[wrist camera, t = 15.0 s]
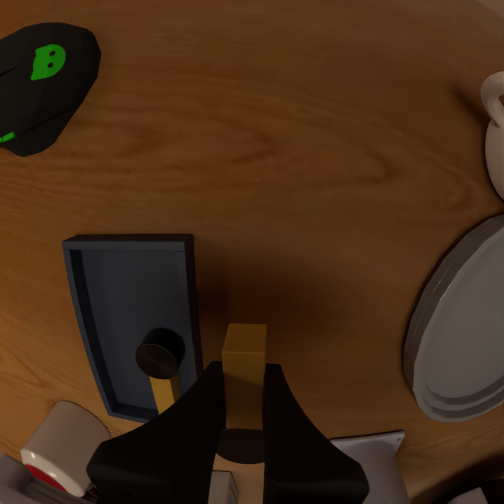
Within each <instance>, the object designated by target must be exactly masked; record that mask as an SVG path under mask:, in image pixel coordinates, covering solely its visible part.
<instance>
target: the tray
mask: <svg viewBox="0 0 504 504" xmlns="http://www.w3.org/2000/svg"><path fill="white" fill-rule="evenodd" d="M62 246H63V249H64V250H63V253H64V259H65V265H66V271H67V276H68V281H69V286H70V291H71V296H72V301H73V305H74V309H75V313H76V317H77V321H78V325H79V329H80V333H81V336H82V340H83V344H84V347H85V350H86V354H87V357H88V360H89V363H90V366H91V369H92V372H93V375H94V378H95V381H96V384H97V387H98V390H99V392H100V395H101V398H102V400H103V403H104V405H105V408H106V410H107V413H108V415H109V416H113V417H118V418H122V419H126V420H131V421H136V422H141V423H147V422H149V421H150V420H152V419H153V418H155V417H156V416H158V415H159V412H158V408H157V405H156V401H155V397H154V393H153V389H152V385H151V381H150V376H148V375H146V374H145V373H144V372H143V371H142V370H141V369H140V368H139V366H138V365H137V362H136V359H135V353H136V350H137V348H138V347H139V346H140V344H141V343H142V341H143V340H144V338H145V337H146V335H147V334H148V333H149V332H150V331H151V330H153V329H157V328H164V329H168V330H171V331H173V332H174V333H176V334H177V335H178V336H179V337H180V338H181V339H182V341H183V342H184V345H185V350H186V352H185V356H184V358H183V360H182V363H181V365H180V367H179V375H180V381H181V387H182V392H183V394H184V393H185V392H186V391H187V390H188V389H189V388H190V387H191V386H192V385H193V384H194V382H195V381H196V380H197V379H198V378H199V377H200V375H201V374H202V373H203V372H204V371H203V362H202V352H201V343H200V332H199V321H198V309H197V297H196V283H195V268H194V251H193V235H192V234H108V235H76V236H73V237H71V238H69V239H66V240H64V241H62Z"/></svg>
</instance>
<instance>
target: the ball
mask: <svg viewBox="0 0 504 504" xmlns="http://www.w3.org/2000/svg"><path fill="white" fill-rule="evenodd" d="M478 487H480V488H481V490H482V492H483V494H484V496H485V499H486V501H487V503H488V504H504V478H500V479H490V480H486V481H481V482H478V483H475V484H472V485H469V486H467V487H464V488H462V489H460V490H458V491H456V492H454V493H451V494H449V495H448V496H446V497H445V498H443V499H441V500H440V501H438V502H436V503H435V504H448V503H449V502H450V501H451V500H452V499H453V498H455V497H457V496H459V495H461V494H464V493H466V492H469V491H471V490H473V489H476V488H478Z"/></svg>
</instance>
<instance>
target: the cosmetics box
mask: <svg viewBox="0 0 504 504" xmlns="http://www.w3.org/2000/svg"><path fill="white" fill-rule="evenodd" d="M238 496H239V494H238V491H237V489H236V486H235V483H234V480H233V476H232V473H231V472H221V471H212V477H211V484H210V492H209V499H208V504H238Z"/></svg>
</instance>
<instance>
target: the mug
mask: <svg viewBox="0 0 504 504" xmlns="http://www.w3.org/2000/svg"><path fill="white" fill-rule="evenodd" d="M503 94H504V71H502V72H498V73H495V74H493V75H491V76H489V77H488V78H487V79H486V80H485V81H484V83H483V84H482V87H481V100H482V103H483V106H484V108H485V110H486V111H487V113H488V114H489V116H490V117H491V120H490V123H489V125H488V128H487V133H486V140H485V155H486V163H487V168H488V172H489V176H490V178H491V181H492V183H493V186H494V188H495V189H496V191H497V193H498V194H499V195H500V197H501V198H502V199H503V200H504V107H503V105H502V104H501V102H500V101H499V99H498V97H499V96H501V95H503Z"/></svg>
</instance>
